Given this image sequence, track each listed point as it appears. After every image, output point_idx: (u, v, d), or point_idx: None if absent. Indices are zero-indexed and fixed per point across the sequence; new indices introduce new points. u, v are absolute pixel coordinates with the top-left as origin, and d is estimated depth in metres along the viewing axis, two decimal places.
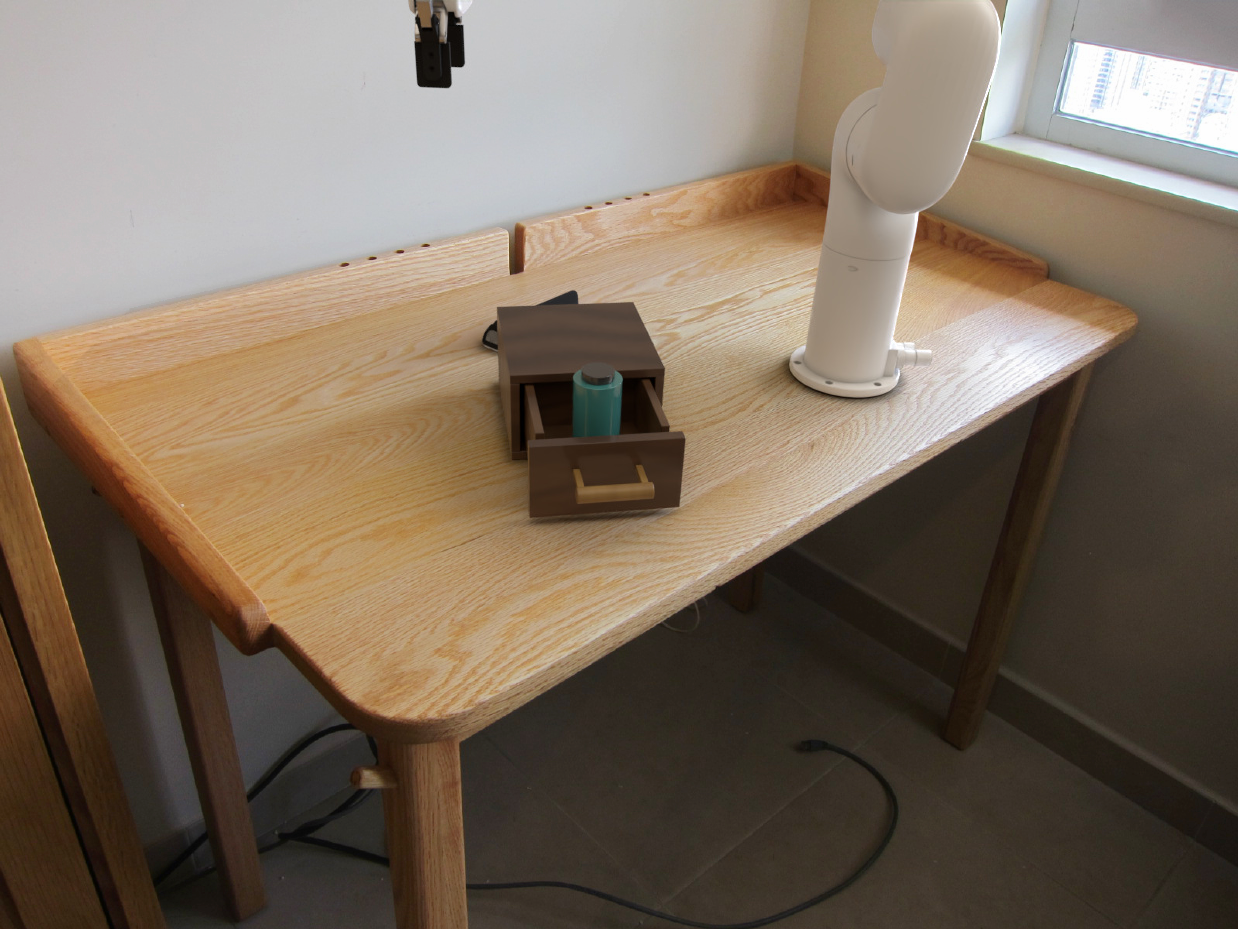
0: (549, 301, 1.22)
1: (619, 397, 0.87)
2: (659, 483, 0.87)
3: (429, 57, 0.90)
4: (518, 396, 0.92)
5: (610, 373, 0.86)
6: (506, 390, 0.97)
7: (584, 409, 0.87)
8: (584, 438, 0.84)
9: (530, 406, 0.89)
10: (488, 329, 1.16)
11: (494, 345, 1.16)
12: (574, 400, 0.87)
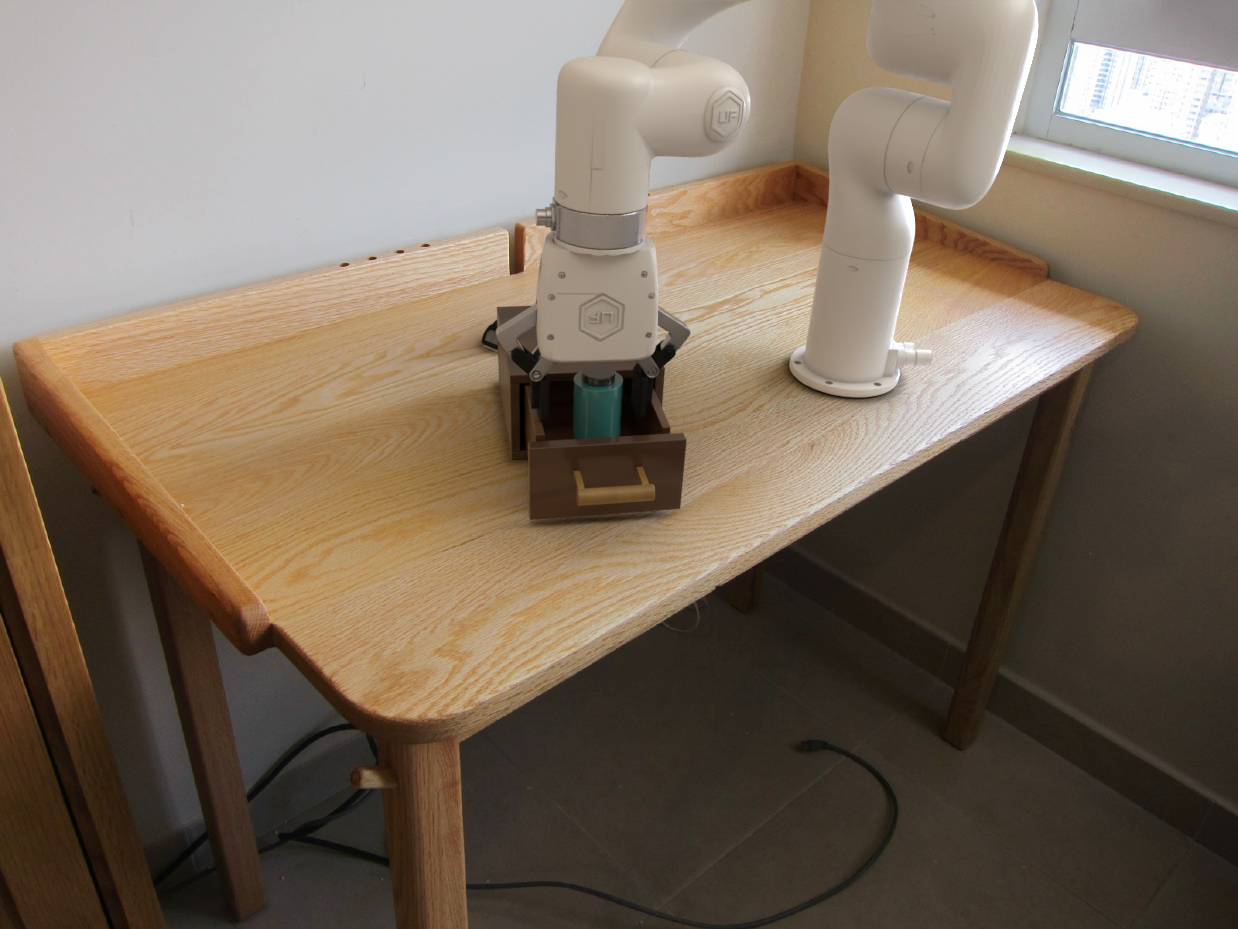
0: None
1: (620, 399, 0.87)
2: (660, 485, 0.87)
3: (531, 386, 0.86)
4: (518, 396, 0.92)
5: (611, 375, 0.86)
6: (506, 390, 0.97)
7: (585, 411, 0.86)
8: (584, 440, 0.84)
9: (530, 408, 0.88)
10: (488, 329, 1.16)
11: (494, 345, 1.16)
12: (574, 402, 0.87)
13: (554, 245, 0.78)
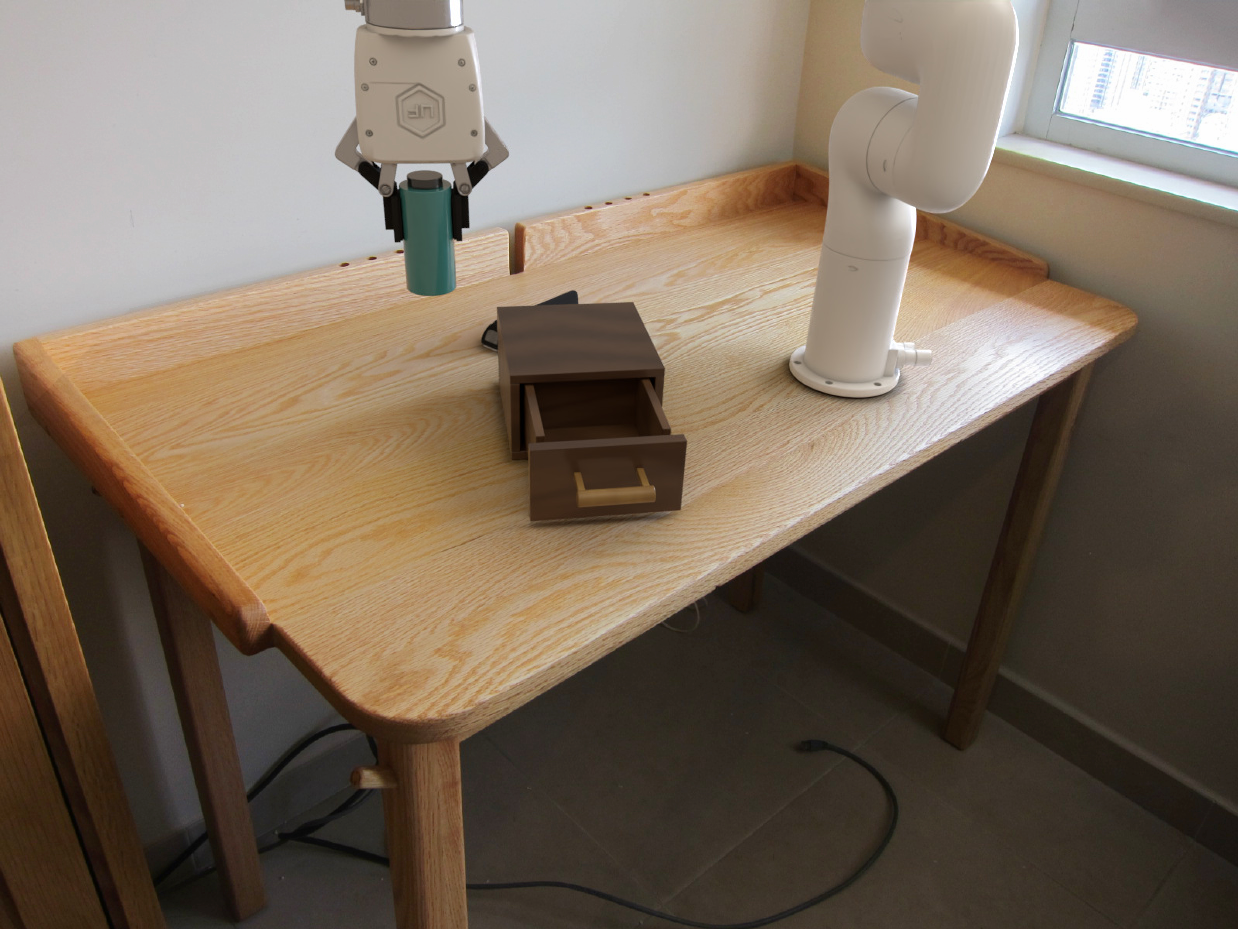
0: (549, 301, 1.22)
1: (447, 205, 0.83)
2: (660, 486, 0.86)
3: None
4: (518, 396, 0.92)
5: (436, 177, 0.82)
6: (506, 390, 0.97)
7: (410, 216, 0.82)
8: (584, 441, 0.83)
9: (531, 409, 0.88)
10: (487, 329, 1.16)
11: (493, 345, 1.16)
12: (401, 208, 0.83)
13: (364, 30, 0.75)
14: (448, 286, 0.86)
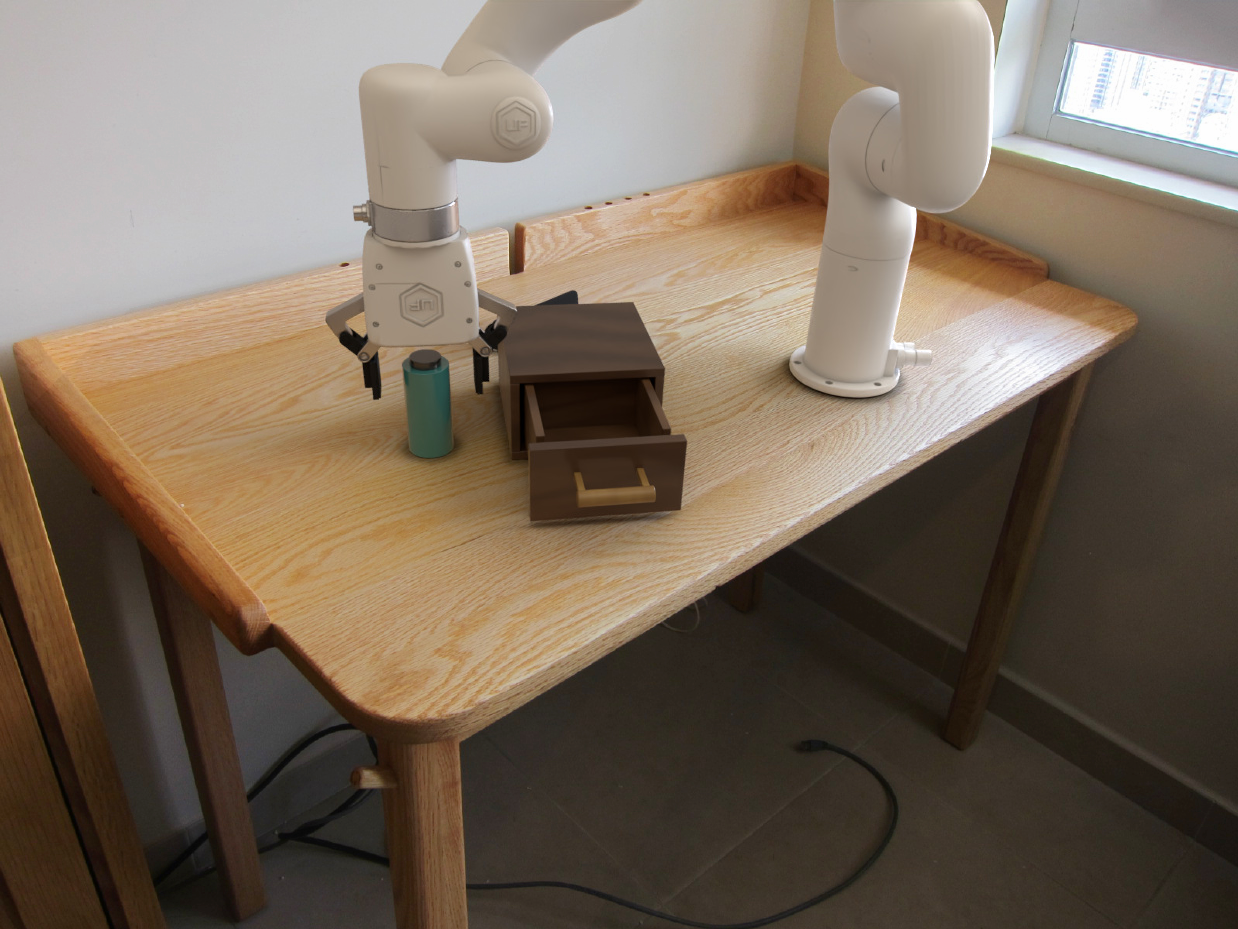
0: (549, 301, 1.22)
1: (445, 382, 0.93)
2: (660, 486, 0.86)
3: None
4: (518, 396, 0.92)
5: (435, 359, 0.92)
6: (506, 390, 0.97)
7: (412, 393, 0.92)
8: (584, 441, 0.83)
9: (531, 409, 0.88)
10: (487, 329, 1.16)
11: None
12: None
13: (371, 239, 0.84)
14: (446, 448, 0.96)
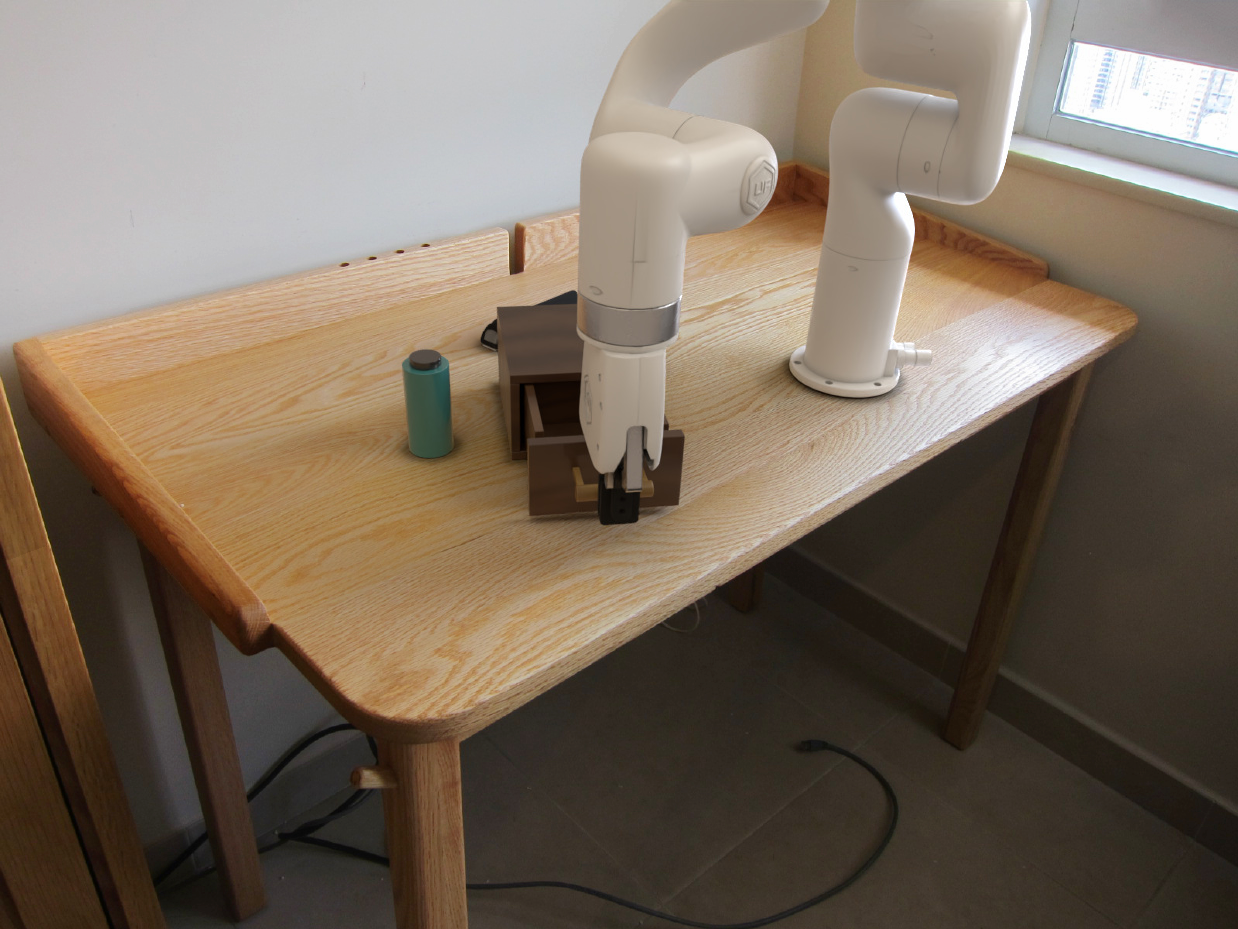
0: (548, 301, 1.22)
1: (445, 382, 0.93)
2: (658, 481, 0.87)
3: None
4: (518, 396, 0.92)
5: (435, 359, 0.92)
6: (506, 390, 0.97)
7: (412, 393, 0.92)
8: (583, 436, 0.84)
9: (530, 404, 0.89)
10: (486, 328, 1.16)
11: (492, 344, 1.16)
12: None
13: None
14: (446, 448, 0.96)
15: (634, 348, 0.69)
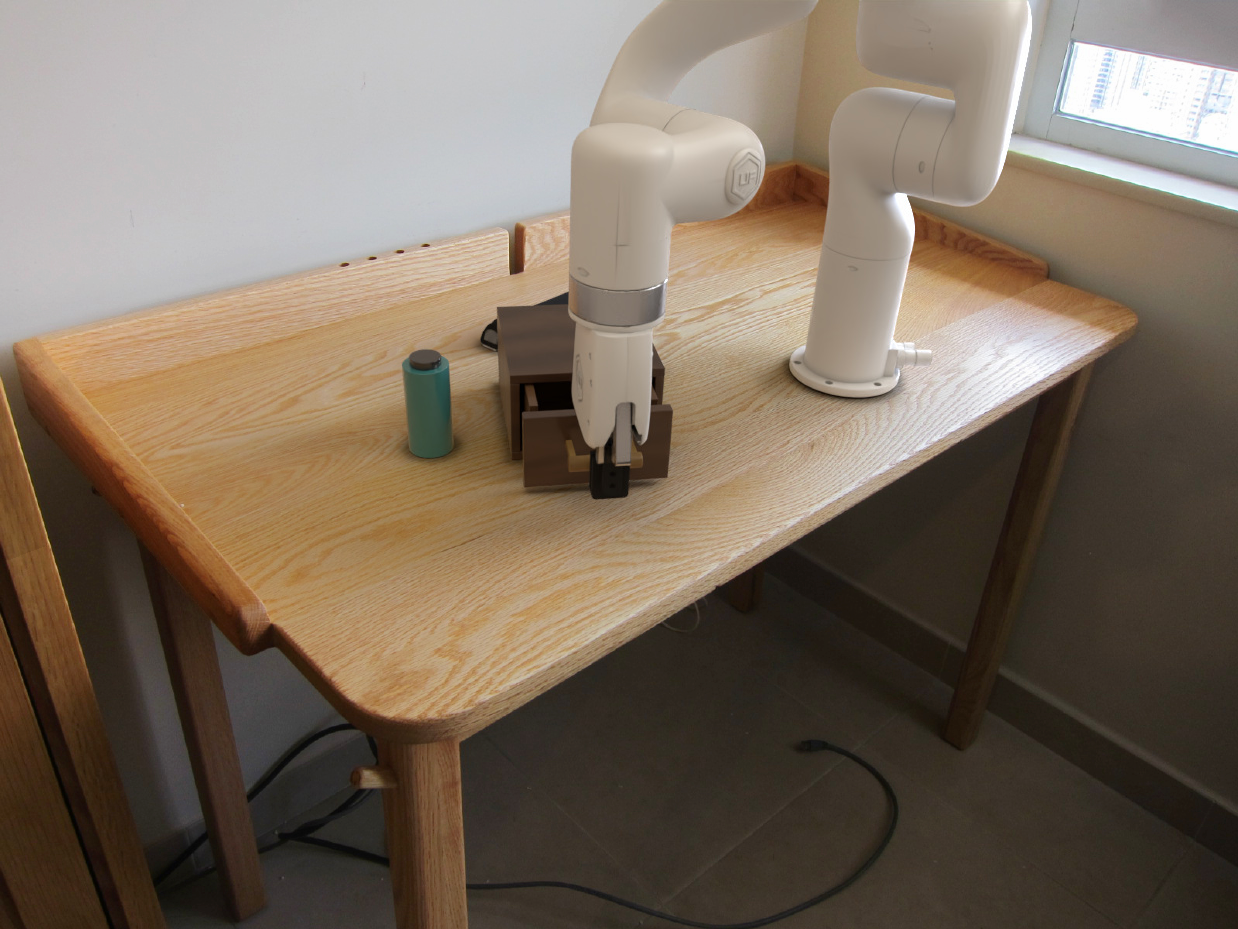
0: (548, 301, 1.22)
1: (445, 382, 0.93)
2: (648, 454, 0.91)
3: None
4: (518, 396, 0.92)
5: (435, 359, 0.92)
6: (506, 390, 0.97)
7: (412, 393, 0.92)
8: None
9: None
10: (486, 328, 1.16)
11: (492, 344, 1.16)
12: None
13: None
14: (446, 448, 0.96)
15: (622, 328, 0.72)
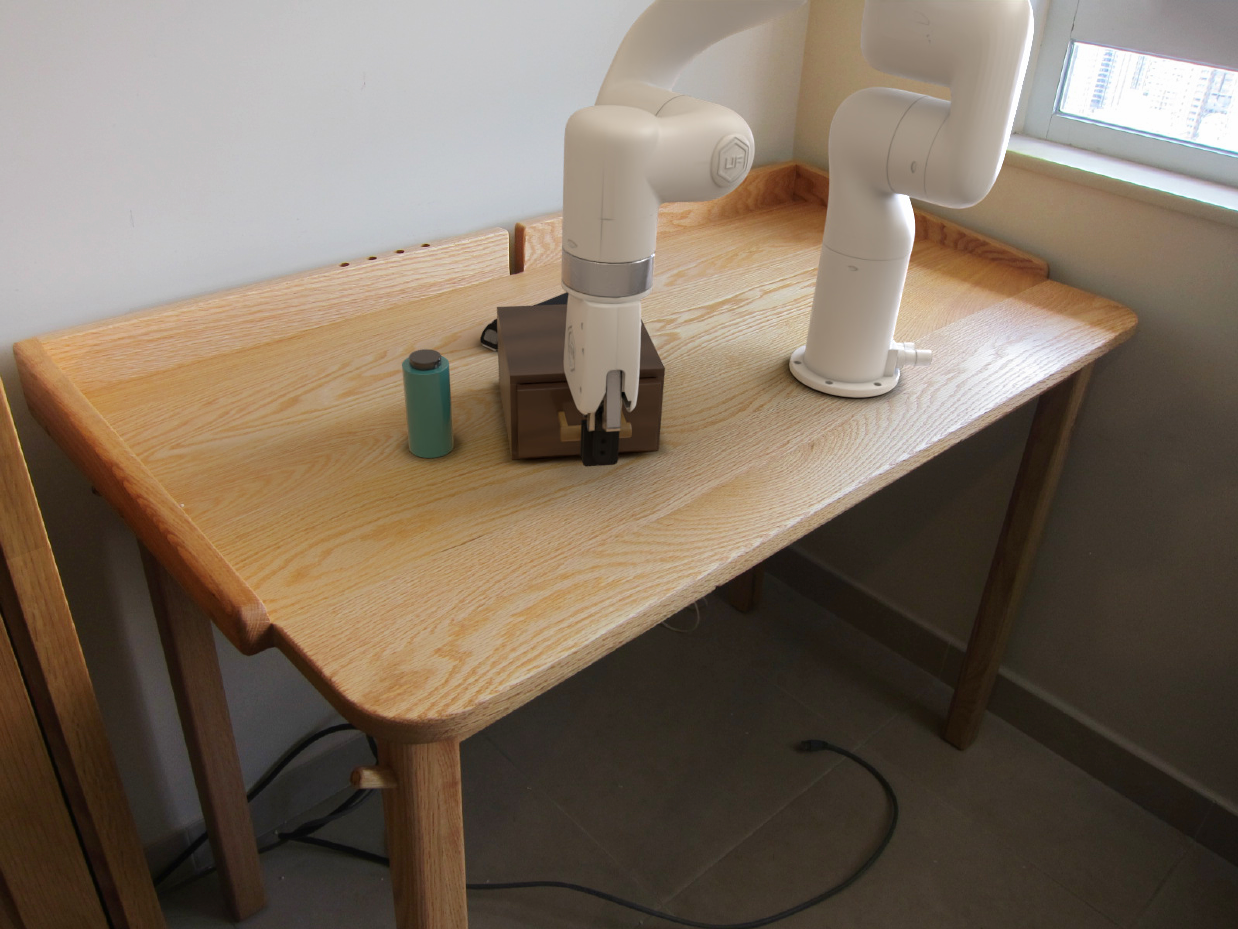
0: (548, 301, 1.22)
1: (445, 382, 0.93)
2: (637, 426, 0.95)
3: None
4: None
5: (435, 359, 0.92)
6: (506, 390, 0.97)
7: (412, 393, 0.92)
8: (567, 383, 0.92)
9: None
10: (486, 328, 1.16)
11: (492, 344, 1.16)
12: None
13: None
14: (446, 448, 0.96)
15: (612, 299, 0.77)
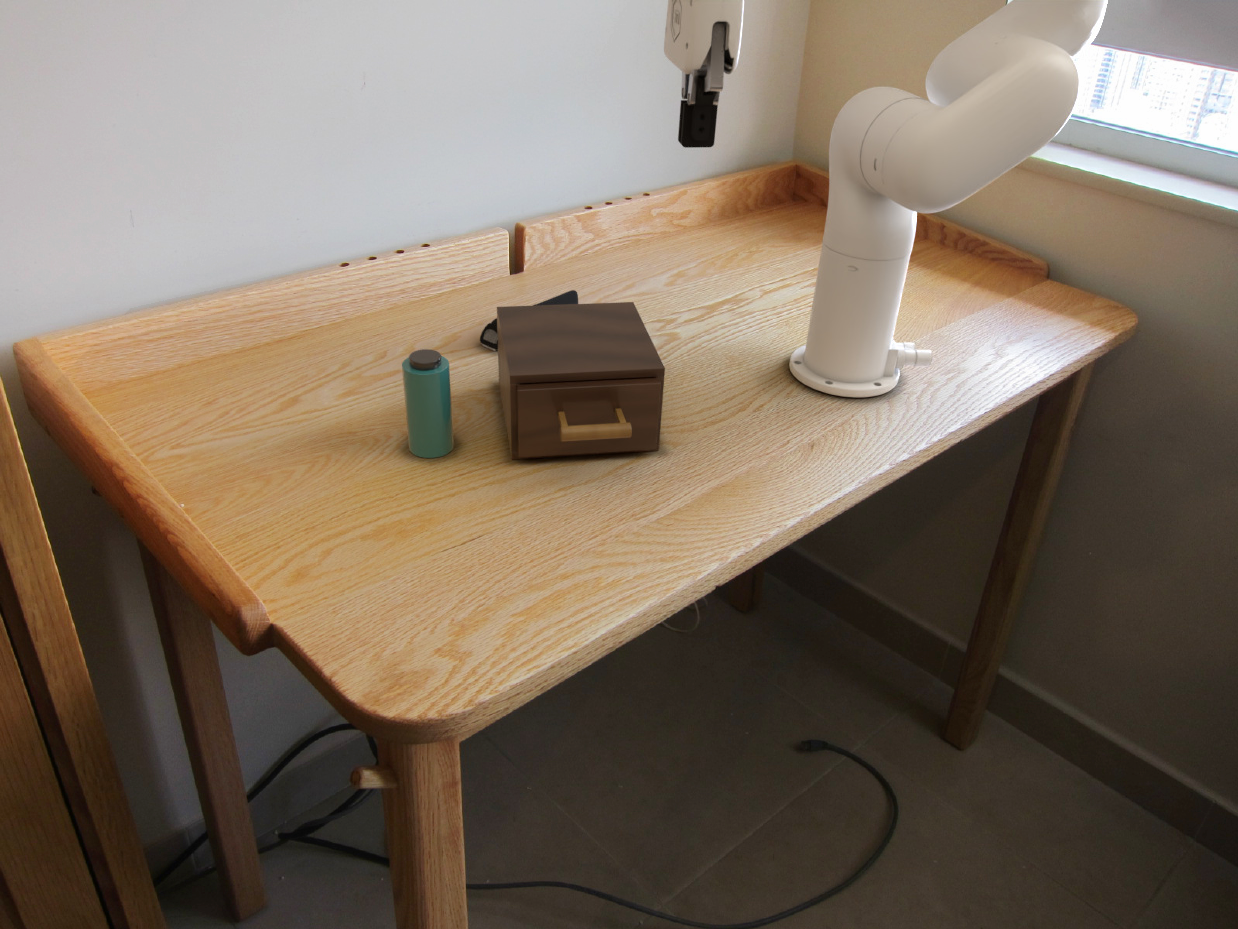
0: (548, 301, 1.22)
1: (445, 382, 0.93)
2: (637, 426, 0.95)
3: None
4: None
5: (435, 359, 0.92)
6: (506, 390, 0.97)
7: (412, 393, 0.92)
8: (567, 383, 0.92)
9: None
10: (486, 328, 1.16)
11: (492, 344, 1.16)
12: None
13: None
14: (446, 448, 0.96)
15: None
